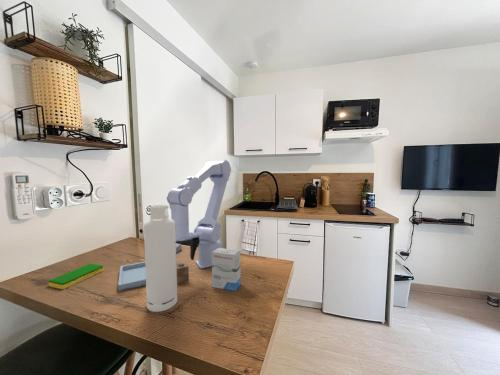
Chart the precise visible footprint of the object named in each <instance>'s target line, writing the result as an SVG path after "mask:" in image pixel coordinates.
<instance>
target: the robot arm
mask: <svg viewBox="0 0 500 375" xmlns="http://www.w3.org/2000/svg"><path fill="white" fill-rule="evenodd" d="M231 171H232V168H231V164H230V162H229V161H228V160H226V159H225V160H208V161H207V162H206V163H204V166H203V167H202V169H201V170H200V171H199V172H198V173H197V174H195V175H191V176H187V177H186V179H185V181H183V182H182V183H180V184H179V185H178V186H177V187H176V188H171V189H170V190H169V191H168V194H167V196H166V201H167V203H168V204H169V205H168V206H169V209H170V218H171V219H172V220H174V222H175V233H176V243H177V242H184V241H189V247H190V252H189V257H190V260H191V261H194V260H195V255H196V250H197V253H198V259H196V260H195V263H196V264H197V266H198V267H199V269H205V268H210V267H211V268H212V253H211V252H213V251H214V250H216V249H217V248H223V244H222V242H221V240H220V238H221V228H222V225H221V224H220V223H219V222H218V217H219V212H220V210H221V206H222V202H223V199H224V196H225V192H226V187H227V183H228V182H229V179H230V176H231ZM208 178H209V179H210V181H211V182H213V187H212V190H211V194H210V197H209V201H208V203H207V207H206V210H205V213H204V214H205V215H204V217H202V218H201V219H200V220H199V221H198V222H197V225H196V226H195V227H194V230H193V232H190V219H189V218H190V217H189V215H190V213H189V205H190V204H191V203H192V200H193V197H194V195H196V193H197V192H198V191H200V189H201V188H202V185H203V182H205V181H206V180H207V179H208Z"/></svg>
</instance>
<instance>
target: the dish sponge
mask: <svg viewBox="0 0 500 375" xmlns="http://www.w3.org/2000/svg"><path fill="white" fill-rule="evenodd" d="M104 271H105V270H104V265H102V264H96V263H89V264H86V265H84V266H81V267H79V268H76V269H74V270H72V271H69V272H66V273H63V274H62V275H59V276H57V277H53V278H51V279H49V280H48V286H49V287H50V288H56V289H60V290H65V289H67V288H69V287H71V286H74V285H76V284H78V283H80V282H83V281H84V280H86V279H89V278H92V277H93V276H95V275H97V274H101V273H103V272H104Z"/></svg>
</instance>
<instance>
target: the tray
mask: <svg viewBox="0 0 500 375" xmlns="http://www.w3.org/2000/svg"><path fill="white" fill-rule="evenodd" d="M118 276H119V277H118V282H117V290H118V292H122V291H127V290H131V289H135V288H139V287H144V286H146V270H145V261H140V262H135V263H131V264H125V265H121V266H120V267H119V275H118Z"/></svg>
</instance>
